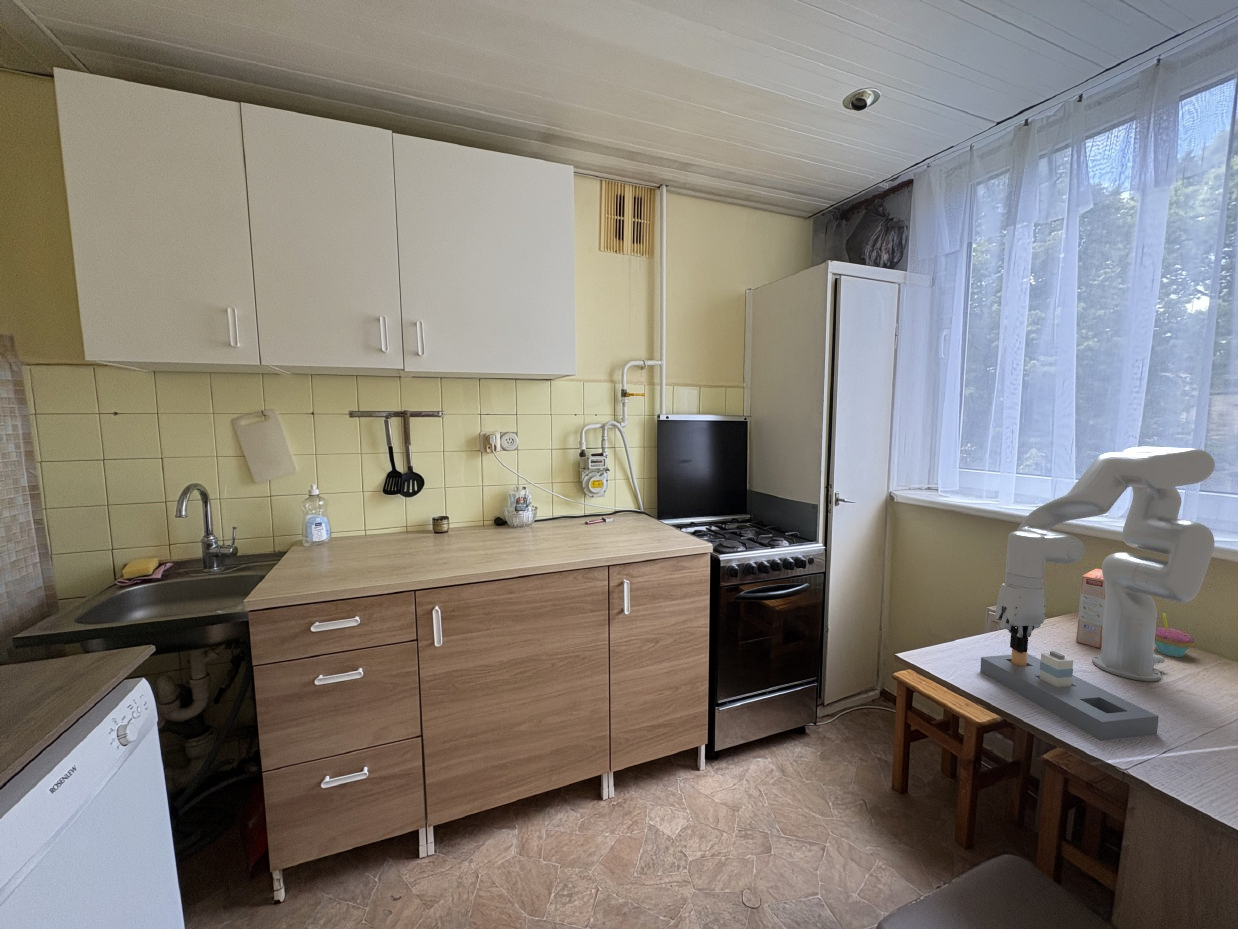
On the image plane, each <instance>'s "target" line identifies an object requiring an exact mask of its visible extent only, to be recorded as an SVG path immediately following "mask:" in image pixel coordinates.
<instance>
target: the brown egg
mask: <svg viewBox="0 0 1238 929" xmlns="http://www.w3.org/2000/svg"><path fill="white" fill-rule="evenodd" d="M1011 649H1012V648H1011ZM1027 653H1028V651H1027V652H1023V653H1020V652H1018V651H1016V650H1014V649H1012V650H1011V655H1012V659H1011V663H1013V664H1015V665H1017V666H1019V667H1025V666H1026V664H1027Z"/></svg>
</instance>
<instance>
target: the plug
mask: <svg viewBox="0 0 1238 929" xmlns="http://www.w3.org/2000/svg"><path fill="white" fill-rule="evenodd" d="M1040 660H1041V661H1040V679H1041V680H1043V681H1045V682H1047V683H1049V684H1051V685H1053V686H1055V687H1057V688H1062V687H1071V685H1072V677H1073V675H1074V674H1073V673H1074V659H1072V658H1069V657H1067V656H1066V655H1064V654H1061V653H1059V652H1058V651H1055V650H1051V651H1049V652H1042V653H1040Z"/></svg>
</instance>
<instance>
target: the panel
mask: <svg viewBox="0 0 1238 929" xmlns="http://www.w3.org/2000/svg"><path fill="white" fill-rule="evenodd" d="M1011 659H1012V654H1002V655H991V656H990V655H988V656H981V657H980V668H979V670H980V673H981V674H984V675H985V676H987V677H989V678H990V679H992V680H994V681H996V682H998V683H999V684H1000V685H1002V686H1004V687H1006V688H1008V689H1010V690H1012V691H1013V692H1015V693H1017V694H1018V695H1020V696H1022V697H1023V698H1025V699H1027V700H1028V701H1031V702H1033V703H1034V704H1036V705H1037V706H1040V707H1041V708H1043V709H1045V710H1046V711H1048V712H1050V713H1051V714H1053V715H1055V716H1057V717H1058V718H1061V719H1062V720H1064V721H1066V722H1067V723H1069V724H1071V725H1073V726H1075V727H1076V728H1078V729H1080V731H1083V732H1085V733H1087V734H1089V735H1090V736H1092V737H1094V738H1095V739H1097V740H1099V741H1109V740H1117V739H1119V740H1120V739H1127V738H1135V737H1137V738H1138V737H1145V736H1153V735H1154V736H1155V735H1158V726H1159V717H1160V716H1159V715H1157V714H1155V713H1153V712H1151V711H1149V710H1147V709H1145V708H1143V707H1141V706H1138V705H1136V704H1135V703H1133V702H1130V701H1128V700H1126V699H1124V698H1122V697H1120V696H1118V695H1115V694H1113V693H1111V692H1109V691H1107V690H1106V689H1103V688H1100V687H1098V686H1097V685H1094V684H1092V683H1090V682H1088V681H1087V680H1084V679H1082V678H1080V677H1078V676H1075V675H1074V674H1073V677H1072V685H1071V687H1062V688H1057V687H1055V686H1053V685H1051V684H1049V683H1047V682H1045V681H1043V680H1041V679H1040V661H1041V658H1038V657H1035V656H1034V655H1031V654H1029V653H1028V652H1027V664H1026V666H1025V667H1019V666H1017V665H1015V664H1013V663H1011Z"/></svg>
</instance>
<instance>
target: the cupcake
mask: <svg viewBox="0 0 1238 929" xmlns="http://www.w3.org/2000/svg"><path fill="white" fill-rule="evenodd" d="M1162 619H1163V620H1162V621H1163V625H1164V626H1161V627H1156V631H1155V642H1154V645H1156V650H1157V651H1158V652H1160V654H1164V655H1166V656H1171V657H1174V656H1175V658H1182V657H1184V655H1185V654H1186V652H1187V650H1188V649H1191V648H1194V647H1196V642H1195V638H1194V637H1192V636H1191V635H1190V634H1188V633H1186V632H1185V631H1182V630H1180V629H1179V630H1178V629H1176V628H1171V627H1169V626H1168V620H1167V613H1165V611H1164V610H1162Z"/></svg>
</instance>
